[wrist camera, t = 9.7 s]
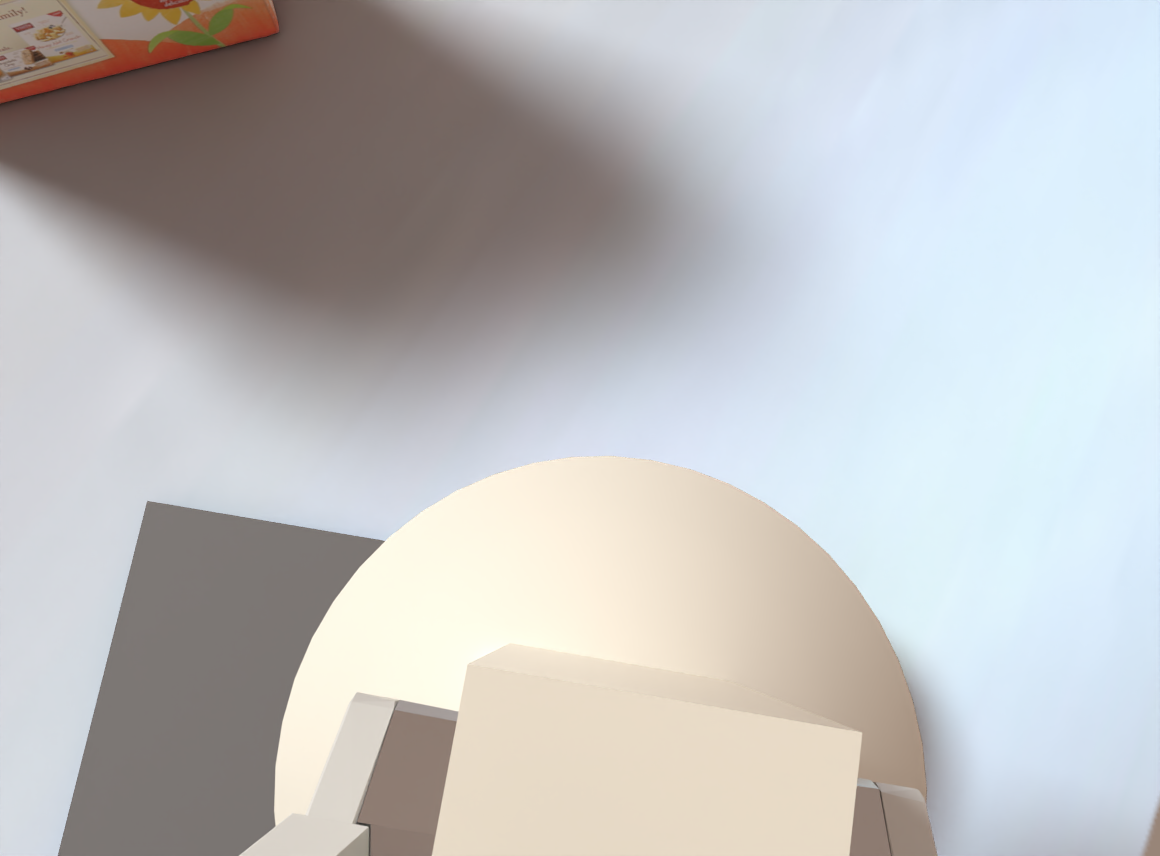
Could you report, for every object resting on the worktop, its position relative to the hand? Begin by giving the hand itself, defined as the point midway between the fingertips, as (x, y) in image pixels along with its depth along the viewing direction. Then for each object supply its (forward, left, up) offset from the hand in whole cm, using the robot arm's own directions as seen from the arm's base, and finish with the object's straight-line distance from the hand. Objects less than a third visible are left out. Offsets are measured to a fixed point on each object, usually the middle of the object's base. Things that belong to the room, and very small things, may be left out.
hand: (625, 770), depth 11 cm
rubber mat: (-9, -3, -23) cm, 25 cm away
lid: (0, -1, -5) cm, 5 cm away
